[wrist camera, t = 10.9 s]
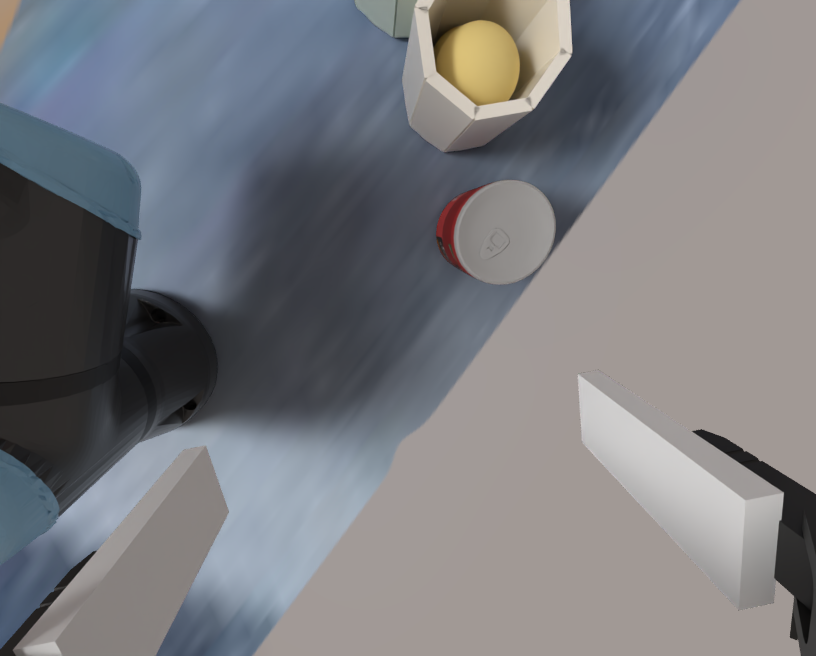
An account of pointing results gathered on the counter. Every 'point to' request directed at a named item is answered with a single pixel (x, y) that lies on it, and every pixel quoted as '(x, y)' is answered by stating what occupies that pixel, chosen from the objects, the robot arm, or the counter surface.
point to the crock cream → (445, 105)
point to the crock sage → (389, 15)
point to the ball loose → (480, 62)
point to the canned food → (497, 231)
